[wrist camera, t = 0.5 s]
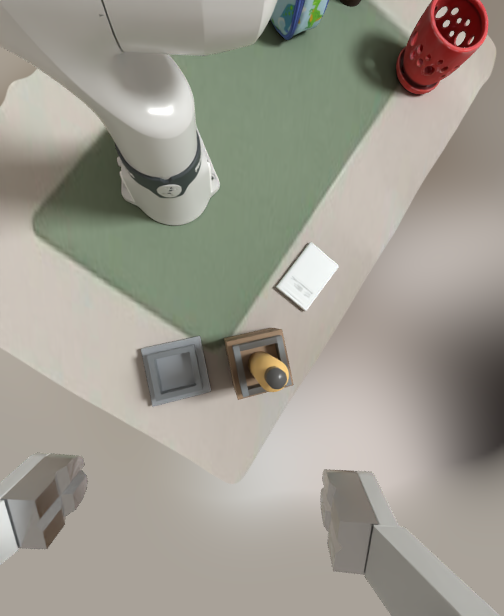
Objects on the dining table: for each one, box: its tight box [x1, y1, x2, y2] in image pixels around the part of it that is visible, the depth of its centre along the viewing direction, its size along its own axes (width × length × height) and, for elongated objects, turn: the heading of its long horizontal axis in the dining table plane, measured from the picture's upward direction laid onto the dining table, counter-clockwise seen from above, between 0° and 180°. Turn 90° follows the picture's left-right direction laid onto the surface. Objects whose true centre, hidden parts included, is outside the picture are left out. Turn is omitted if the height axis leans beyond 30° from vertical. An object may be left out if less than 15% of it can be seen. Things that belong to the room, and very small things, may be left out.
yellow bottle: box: [248, 351, 289, 392], centre depth 38 cm, size 4×4×11 cm
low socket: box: [141, 336, 211, 406], centre depth 47 cm, size 11×11×3 cm
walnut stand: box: [224, 328, 293, 400], centre depth 46 cm, size 10×10×10 cm
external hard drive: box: [276, 242, 339, 311], centre depth 53 cm, size 2×8×12 cm
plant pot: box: [396, 0, 488, 94], centre depth 54 cm, size 13×13×12 cm
